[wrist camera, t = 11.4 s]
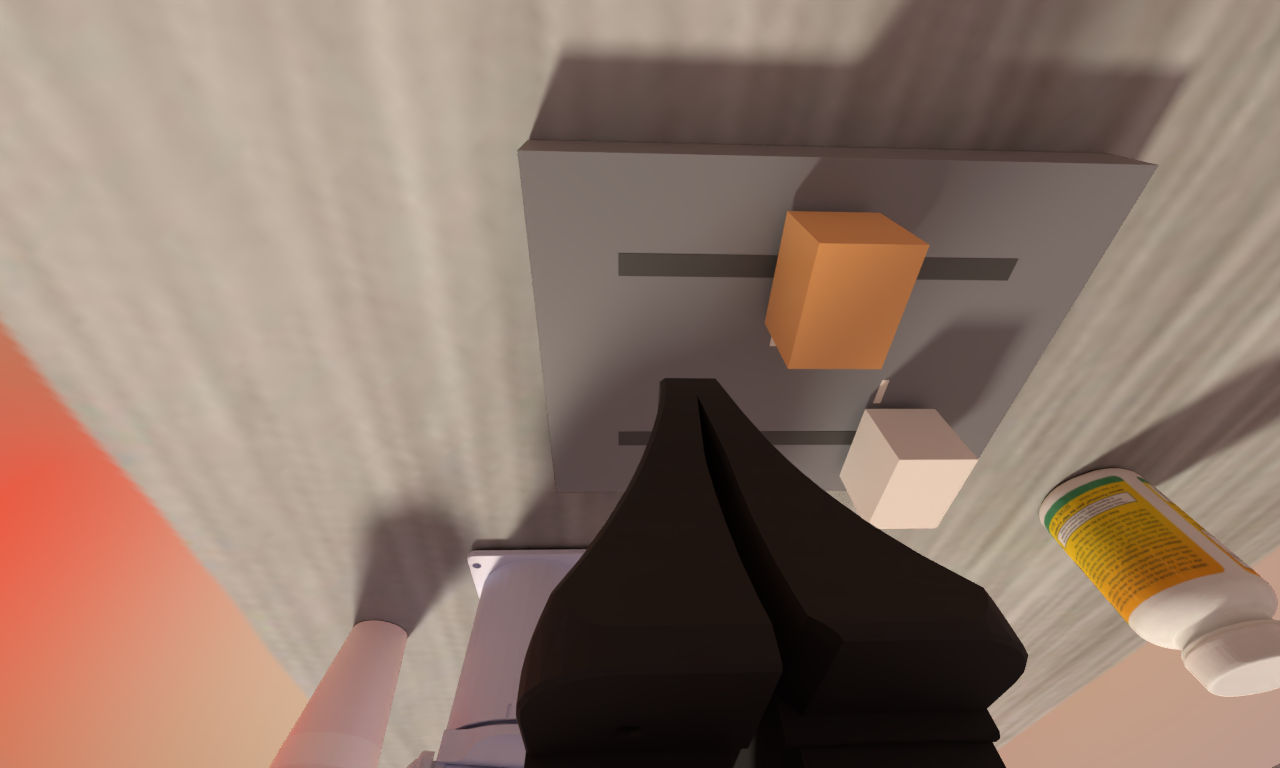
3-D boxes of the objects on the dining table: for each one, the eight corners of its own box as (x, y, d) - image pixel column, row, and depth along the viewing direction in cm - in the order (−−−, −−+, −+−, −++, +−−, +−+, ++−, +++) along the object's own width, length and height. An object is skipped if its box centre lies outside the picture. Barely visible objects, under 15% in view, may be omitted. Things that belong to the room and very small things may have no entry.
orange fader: (844, 324, 17) (881, 369, 15) (764, 323, 17) (787, 369, 15) (880, 212, 15) (929, 245, 13) (787, 211, 15) (819, 243, 13)
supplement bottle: (1159, 465, 26) (1390, 645, 18) (1099, 527, 29) (1273, 703, 21) (1068, 463, 26) (1262, 645, 18) (1016, 526, 29) (1162, 704, 21)
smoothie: (383, 600, 31) (247, 917, 20) (445, 642, 35) (360, 933, 23) (311, 624, 33) (145, 932, 21) (377, 662, 36) (266, 945, 25)
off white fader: (901, 475, 22) (936, 528, 20) (839, 475, 22) (866, 528, 20) (934, 408, 20) (978, 459, 18) (865, 408, 20) (899, 459, 17)
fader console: (937, 461, 25) (959, 490, 24) (560, 462, 24) (556, 492, 23) (1105, 153, 17) (1159, 165, 15) (528, 139, 16) (517, 150, 14)
